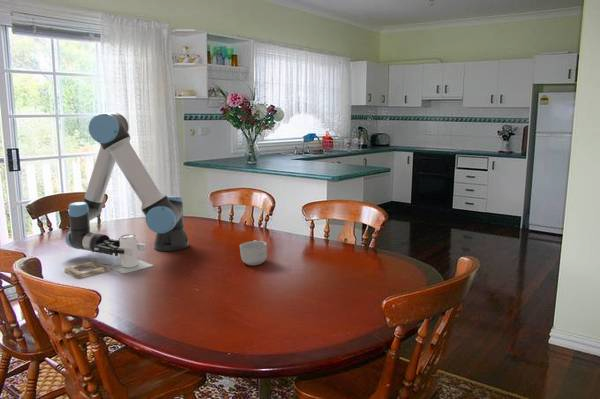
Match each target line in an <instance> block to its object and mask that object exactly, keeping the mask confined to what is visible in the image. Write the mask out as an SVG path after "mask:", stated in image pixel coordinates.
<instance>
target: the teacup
mask: <svg viewBox="0 0 600 399" xmlns="http://www.w3.org/2000/svg"><path fill="white" fill-rule="evenodd" d="M267 247H268V244H267V242H266V241H264V240H256V239H254V240H253V241H252V240H251V241H245V242H242V243H241V244H239V251H240V252H239V253H240V257H241V258H240V259H241V260H242V262H243V263H245V264H246V265H248V266H257V265H261V264H263V263H264V262H265V261H266V260H267V257H268V248H267Z"/></svg>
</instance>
